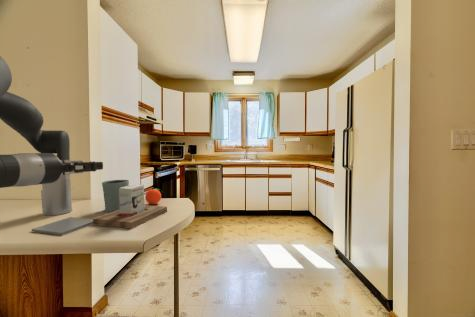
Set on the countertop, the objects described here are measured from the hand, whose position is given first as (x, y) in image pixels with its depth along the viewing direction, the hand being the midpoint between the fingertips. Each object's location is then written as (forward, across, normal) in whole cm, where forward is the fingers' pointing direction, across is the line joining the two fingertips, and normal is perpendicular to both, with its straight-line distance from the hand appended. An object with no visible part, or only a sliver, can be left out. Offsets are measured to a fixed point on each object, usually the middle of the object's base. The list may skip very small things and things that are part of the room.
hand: (90, 165), depth 72 cm
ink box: (+18, 0, +21) cm, 27 cm away
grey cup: (+26, +15, +20) cm, 36 cm away
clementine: (+38, +5, +20) cm, 43 cm away
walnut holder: (+18, 0, +20) cm, 27 cm away
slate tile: (+5, +16, +21) cm, 26 cm away
